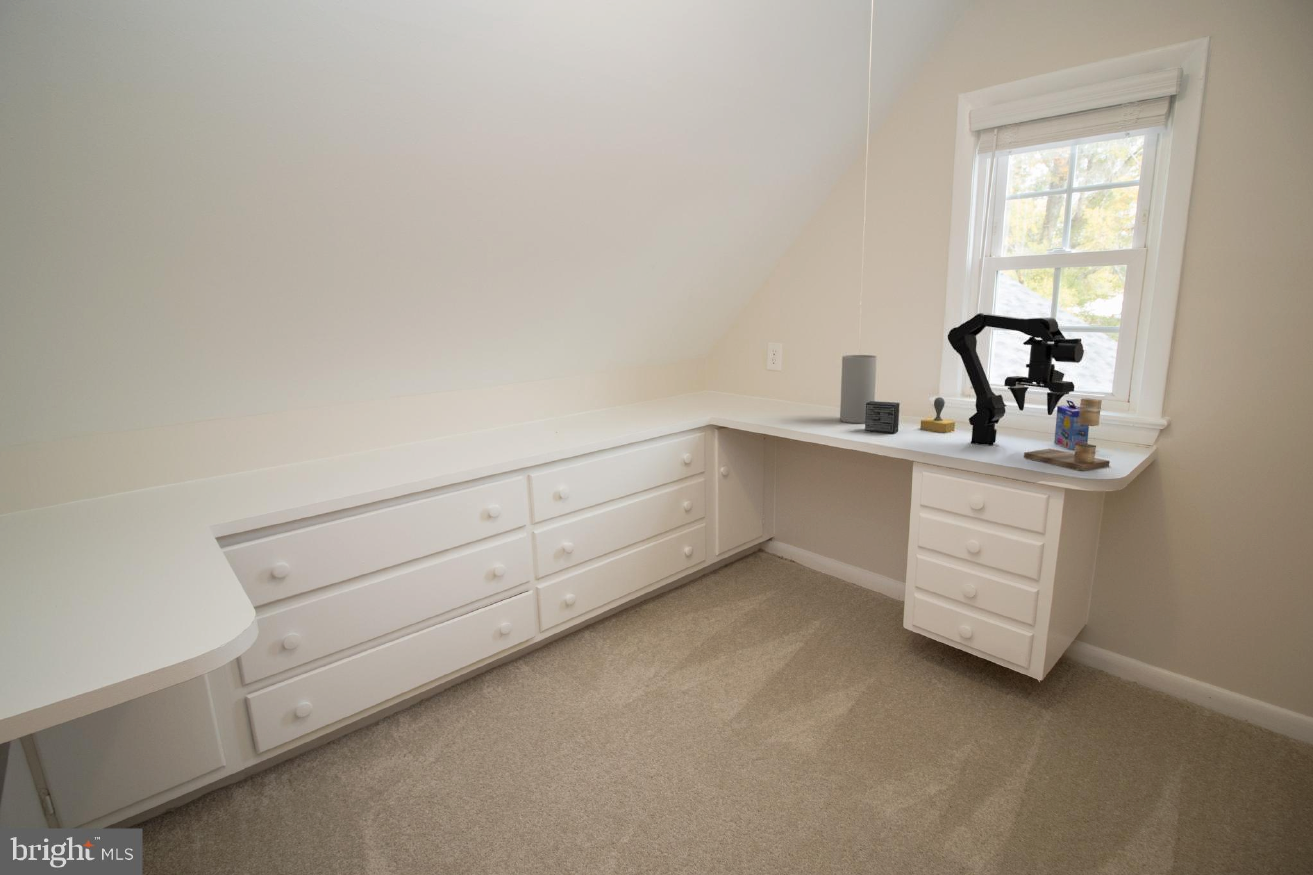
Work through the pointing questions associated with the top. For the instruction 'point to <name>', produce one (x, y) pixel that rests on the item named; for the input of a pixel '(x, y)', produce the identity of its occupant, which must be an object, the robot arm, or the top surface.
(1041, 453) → the stand
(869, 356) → the cylinder vase
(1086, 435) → the ink cartridge box
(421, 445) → the top surface
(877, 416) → the small box
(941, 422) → the rubber stamp
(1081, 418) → the stub
